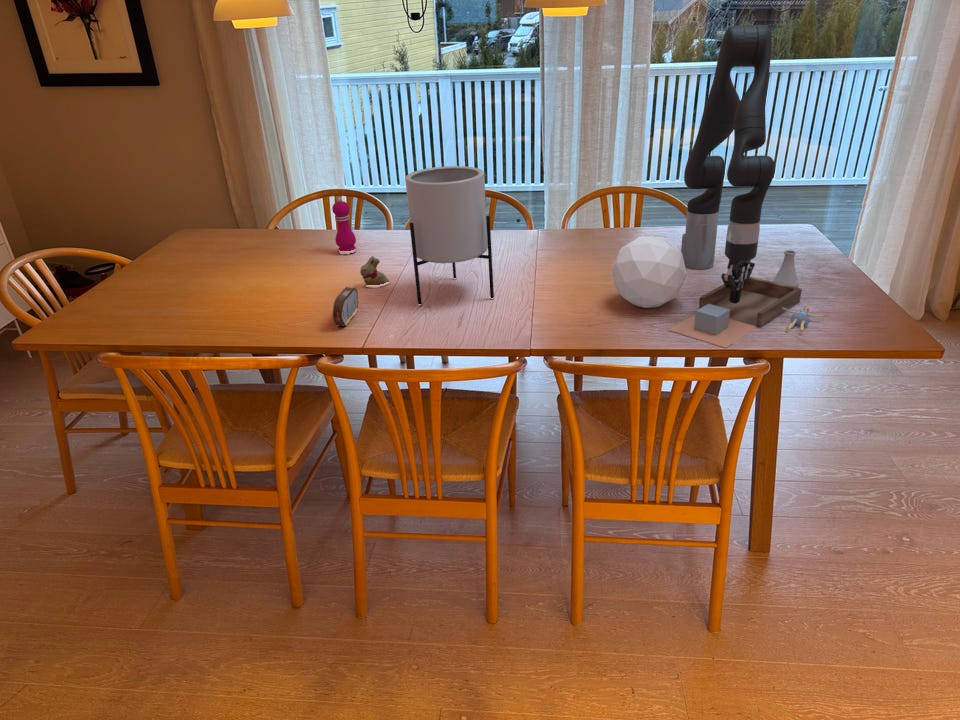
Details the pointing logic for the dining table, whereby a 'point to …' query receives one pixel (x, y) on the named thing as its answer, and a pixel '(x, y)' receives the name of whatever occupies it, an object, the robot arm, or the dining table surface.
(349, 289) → the tin
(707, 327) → the slate block
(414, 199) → the plant pot with stand
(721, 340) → the terracotta mat
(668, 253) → the geometric orb
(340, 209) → the pepper mill
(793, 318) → the fairy figurine
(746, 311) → the walnut cubby
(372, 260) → the chocolate bunny
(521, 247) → the dining table surface
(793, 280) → the flask
